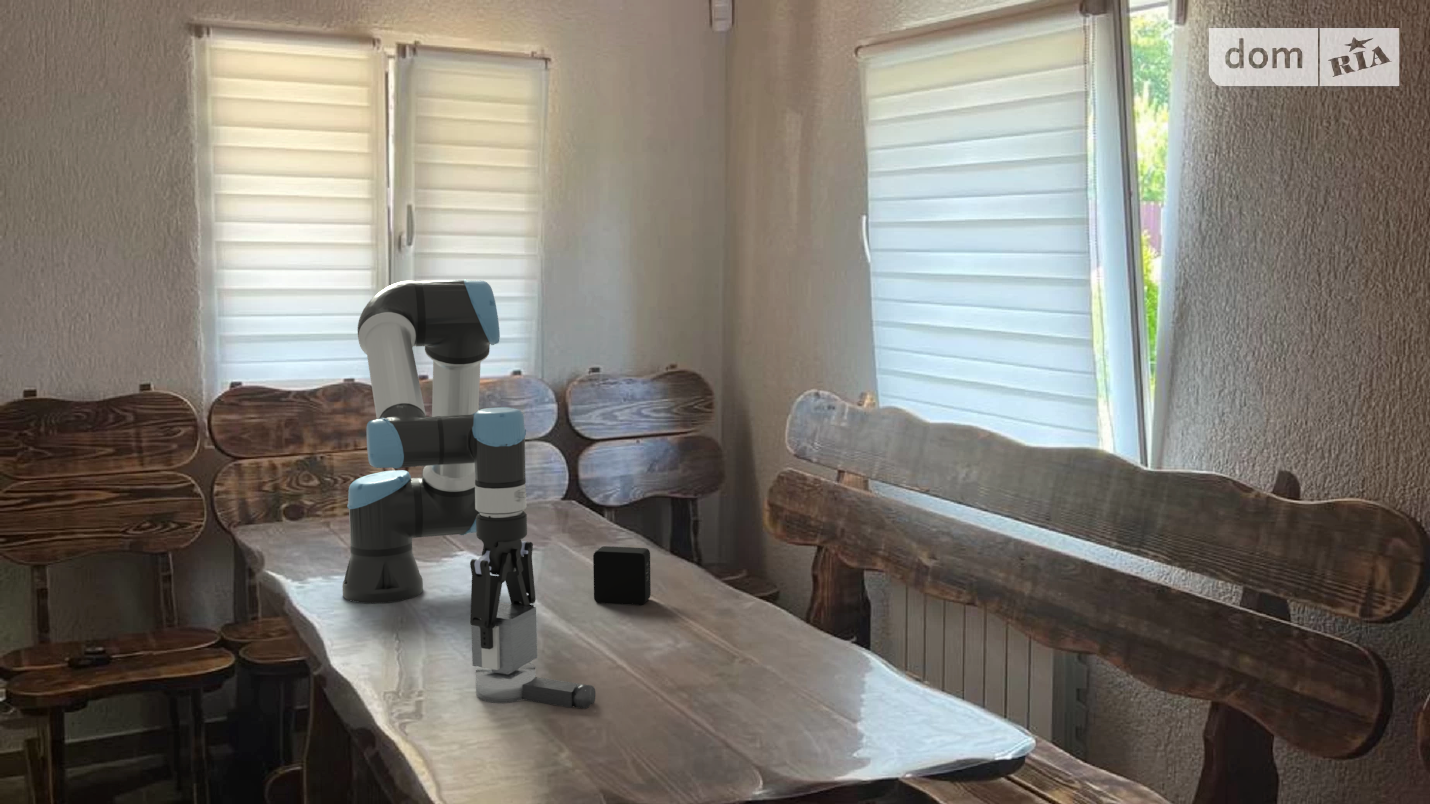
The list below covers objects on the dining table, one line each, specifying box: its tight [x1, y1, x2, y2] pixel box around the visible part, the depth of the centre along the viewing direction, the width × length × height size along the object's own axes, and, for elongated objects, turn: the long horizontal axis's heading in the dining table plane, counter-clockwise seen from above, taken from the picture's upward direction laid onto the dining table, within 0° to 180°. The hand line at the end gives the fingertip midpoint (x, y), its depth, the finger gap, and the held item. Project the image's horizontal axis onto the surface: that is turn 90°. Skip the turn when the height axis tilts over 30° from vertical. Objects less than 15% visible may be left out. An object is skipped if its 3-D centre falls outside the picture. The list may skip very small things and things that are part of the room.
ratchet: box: [474, 662, 596, 710], centre depth 196 cm, size 19×9×10 cm, turn 66°
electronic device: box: [592, 545, 652, 606], centre depth 247 cm, size 4×10×10 cm, turn 78°
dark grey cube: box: [470, 601, 538, 672], centre depth 198 cm, size 7×7×8 cm
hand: (505, 659), depth 198 cm, fingers closed on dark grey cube, 7 cm apart
